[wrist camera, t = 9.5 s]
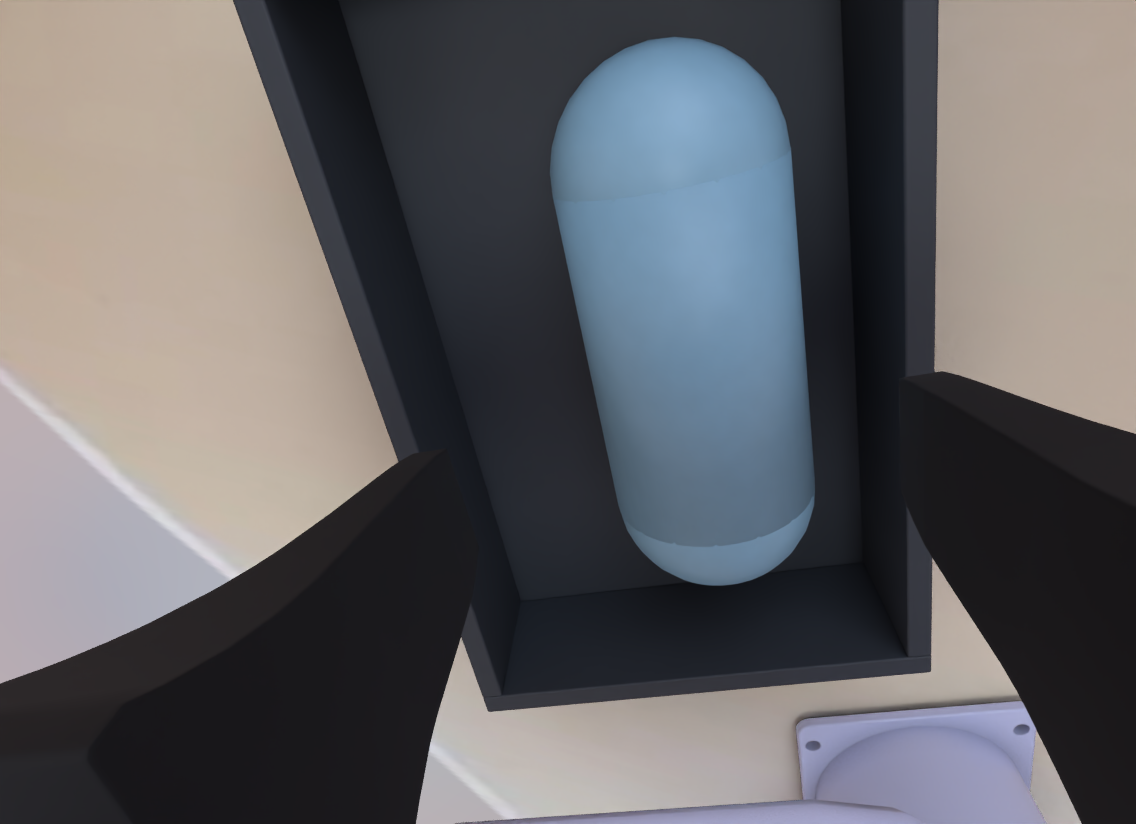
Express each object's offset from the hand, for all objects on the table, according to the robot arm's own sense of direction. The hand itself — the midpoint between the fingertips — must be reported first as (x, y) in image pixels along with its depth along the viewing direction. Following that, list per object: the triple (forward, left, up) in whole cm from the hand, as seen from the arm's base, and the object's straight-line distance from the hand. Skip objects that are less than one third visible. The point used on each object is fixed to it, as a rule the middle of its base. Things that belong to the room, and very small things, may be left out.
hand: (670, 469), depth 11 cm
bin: (0, 0, -9) cm, 9 cm away
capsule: (0, 0, -8) cm, 8 cm away
